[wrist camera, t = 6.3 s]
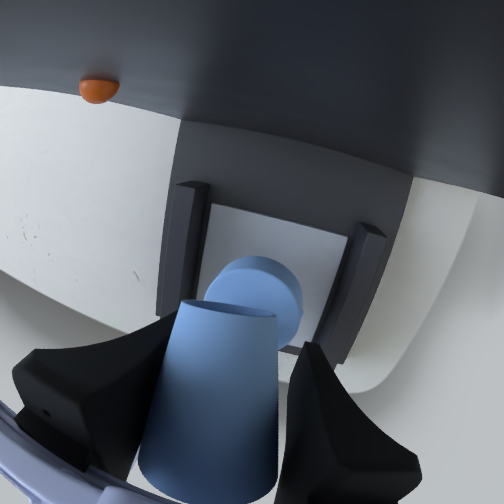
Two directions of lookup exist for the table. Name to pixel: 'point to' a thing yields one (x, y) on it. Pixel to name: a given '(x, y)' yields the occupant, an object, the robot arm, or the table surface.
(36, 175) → the table surface
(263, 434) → the spotlight
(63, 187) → the table surface
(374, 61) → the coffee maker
